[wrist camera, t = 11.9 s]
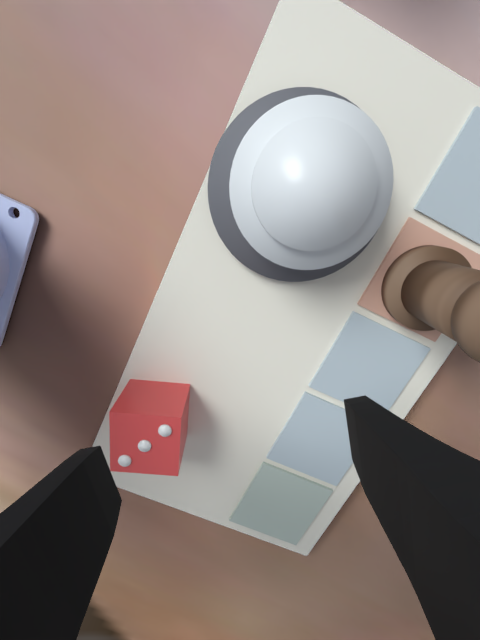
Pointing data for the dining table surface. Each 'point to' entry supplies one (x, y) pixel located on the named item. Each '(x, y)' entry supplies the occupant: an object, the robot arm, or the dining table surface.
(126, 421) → the red die
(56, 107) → the dining table surface
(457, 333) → the pawn
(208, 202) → the game board
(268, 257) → the dome
